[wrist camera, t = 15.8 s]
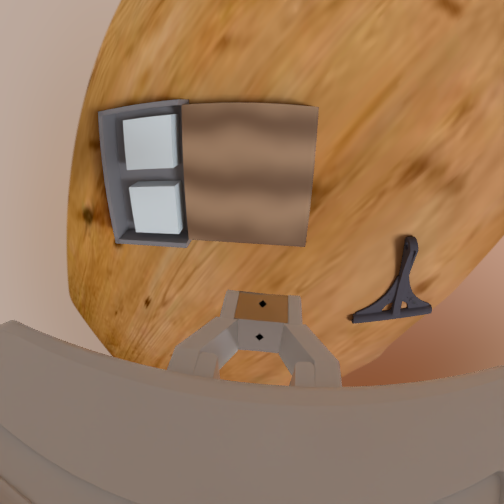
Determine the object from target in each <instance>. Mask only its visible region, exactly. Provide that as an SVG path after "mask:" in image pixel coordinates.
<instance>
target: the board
mask: <svg viewBox="0 0 504 504" xmlns="http://www.w3.org/2000/svg"><path fill="white" fill-rule="evenodd" d="M318 109H319V107H312V106H302V105H289V104H273V103H202V104H186V105H182V146H183V169H184V186H185V201H186V214H187V226H188V237H189V240H205V241H222V242H238V243H253V244H269V245H284V246H299V247H305V244H306V236H307V228H308V220H309V212H310V203H311V194H312V184H313V174H314V163H315V151H316V139H317V125H318Z"/></svg>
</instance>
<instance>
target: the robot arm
mask: <svg viewBox="0 0 504 504" xmlns="http://www.w3.org/2000/svg"><path fill="white" fill-rule="evenodd" d="M238 349H239V350H252V351H263V352H272V353H279V355H280V357H281V359H282V360H283V362H284V363H285V365H286V367H287V368H288V370H289V372H290V373H291V375H292V378H291V381H290V385H289V386H279V385H266V384H254V383H245V382H236V381H228V380H220V375H219V369H220V368H221V367H222V366H223V365H224V364H225V363H226V362H227V361H228V360H229V359H230V358H231V357H232V356H233V355H234V354H235V353H236V352H237V351H238ZM258 349H259V350H258ZM0 504H504V366H497V367H493V368H489V369H486V370H481V371H477V372H473V373H468V374H463V375H458V376H453V377H447V378H441V379H434V380H428V381H420V382H412V383H403V384H392V385H380V386H362V387H361V386H360V387H342V382H341V374H340V365H339V361H338V360H337V359H336V358H335V357H334V356H333V355H332V354H331V352H330V351H329V350H328V349H327V348H326V347H325V346H324V345H323V343H322V342H321V341H320V340H319V339H318V338H317V337H316V336H315V334H314V333H313V332H312V331H311V330H310V329H309V328H308V327H307V325H302V308H301V297H300V296H291V295H288V296H287V295H273V294H262V293H253V292H244V291H234V290H227V292H226V295H225V299H224V303H223V306H222V310H221V314H220V317H215V318H214V319H212V320H211V321H210V322H208V323H207V324H206V325H204V326H203V327H202V328H200V329H199V330H198V331H196V332H195V333H193V334H192V335H191V336H189V337H188V338H187V339H185V340H184V341H183V342H181V343H180V344H178V345H177V346H176V347H175V350H174V352H173V355H172V358H171V360H170V363H169V366H168V368H167V370H164V369H159V368H154V367H150V366H146V365H142V364H138V363H134V362H130V361H126V360H122V359H119V358H115V357H112V356H108V355H105V354H102V353H98V352H95V351H92V350H89V349H86V348H83V347H80V346H77V345H74V344H71V343H68V342H66V341H63V340H60V339H58V338H55V337H52V336H50V335H47V334H45V333H42V332H40V331H38V330H35V329H33V328H31V327H28V326H26V325H24V324H22V323H20V322H17V321H14V320H11V321H8V322H6V323H3V324H1V325H0Z"/></svg>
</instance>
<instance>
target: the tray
mask: <svg viewBox="0 0 504 504" xmlns="http://www.w3.org/2000/svg"><path fill="white" fill-rule="evenodd" d="M186 104H189V100H183V99H177V100H167V101H159V102H151V103H143V104H137V105H131V106H125V107H119V108H114V109H109V110H104V111H99V112H98V121H99V136H100V147H101V157H102V166H103V173H104V181H105V187H106V194H107V200H108V206H109V211H110V217H111V222H112V227H113V232H114V236H115V241H116V243H122V244H137V245H152V246H167V247H182V248H187V247H188V245H189V243H190V242H191V240H189V237H188V226H187V214H186V201H185V186H184V169H183V146H182V105H186ZM168 114H179V145H180V164H179V165H177V166H176V167H174V168H159V169H138V170H127V166H126V156H125V145H124V131H123V120H128V119H134V118H141V117H149V116H158V115H168ZM178 180H181V183H182V197H183V209H184V221H185V226H184V228H183V229H182V231H181V232H180V233H179V234H165V233H144V232H136V230H135V224H134V218H133V212H132V205H131V199H130V192H129V187H130V186H132V185H133V184H135V183H136V182H138V181H178Z"/></svg>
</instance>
